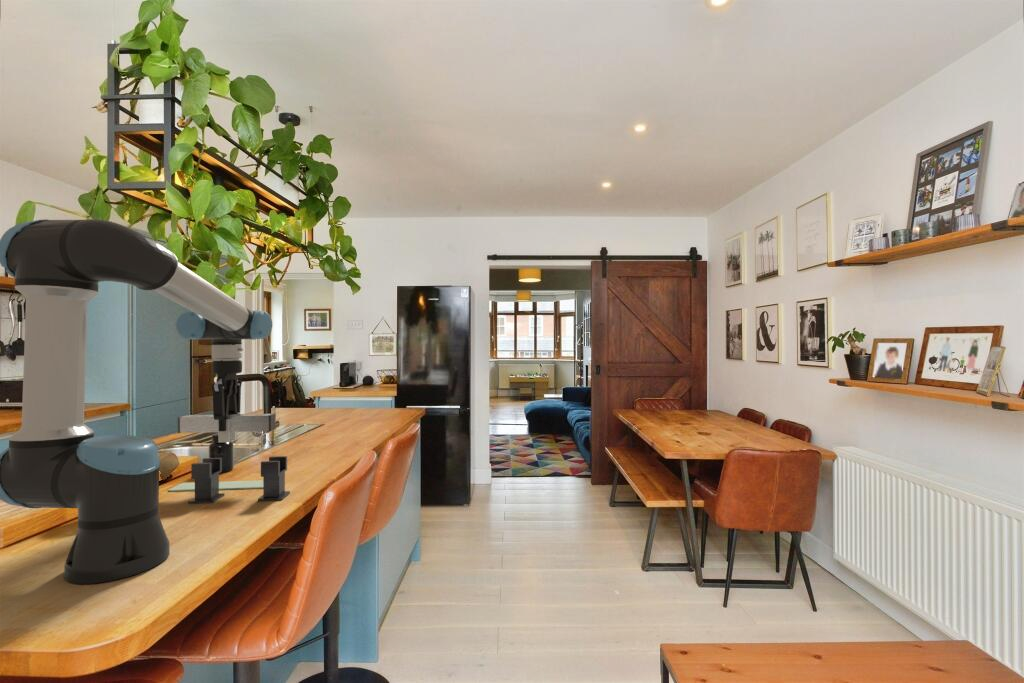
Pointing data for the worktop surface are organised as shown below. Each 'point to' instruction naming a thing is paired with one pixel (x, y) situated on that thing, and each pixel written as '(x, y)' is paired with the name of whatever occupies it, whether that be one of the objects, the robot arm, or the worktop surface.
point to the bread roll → (167, 464)
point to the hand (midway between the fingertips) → (227, 440)
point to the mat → (222, 485)
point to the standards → (211, 467)
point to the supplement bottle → (222, 453)
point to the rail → (236, 423)
